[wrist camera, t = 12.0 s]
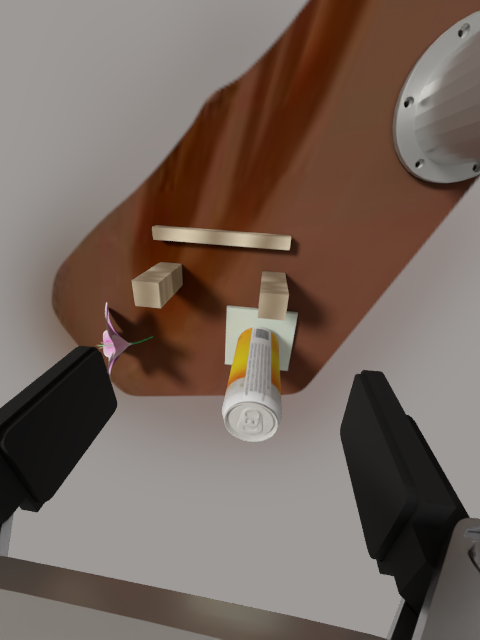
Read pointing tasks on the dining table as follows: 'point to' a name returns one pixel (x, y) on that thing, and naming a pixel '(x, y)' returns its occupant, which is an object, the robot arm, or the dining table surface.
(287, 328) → the mat
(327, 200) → the dining table surface
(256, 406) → the beer can
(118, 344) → the lily
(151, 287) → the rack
